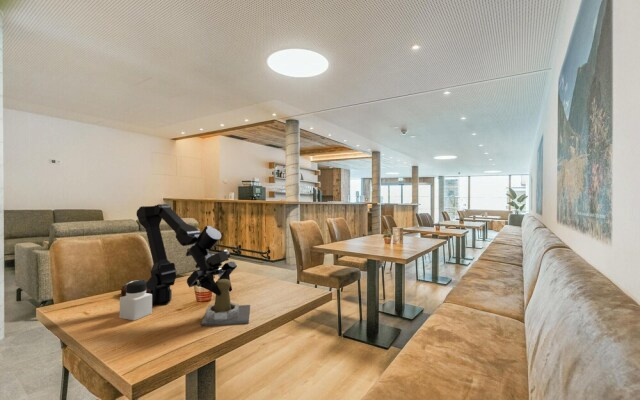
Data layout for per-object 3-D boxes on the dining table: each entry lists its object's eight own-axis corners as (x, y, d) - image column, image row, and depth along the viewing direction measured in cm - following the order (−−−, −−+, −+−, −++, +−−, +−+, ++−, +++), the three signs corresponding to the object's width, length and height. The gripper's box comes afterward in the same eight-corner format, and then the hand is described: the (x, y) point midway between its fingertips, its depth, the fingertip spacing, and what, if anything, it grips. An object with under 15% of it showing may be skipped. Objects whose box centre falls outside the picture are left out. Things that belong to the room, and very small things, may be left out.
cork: (211, 309, 106) (212, 278, 106) (229, 307, 109) (229, 276, 109) (215, 315, 101) (215, 282, 101) (233, 312, 104) (233, 280, 104)
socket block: (201, 326, 97) (201, 315, 97) (208, 309, 112) (208, 300, 112) (248, 323, 100) (248, 312, 100) (250, 307, 115) (250, 298, 115)
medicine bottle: (152, 313, 108) (152, 280, 108) (134, 321, 101) (134, 285, 101) (137, 311, 110) (137, 278, 110) (118, 318, 103) (119, 283, 104)
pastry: (117, 294, 130) (117, 280, 130) (148, 288, 139) (148, 275, 139) (126, 300, 123) (126, 285, 123) (157, 293, 132) (157, 279, 132)
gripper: (193, 246, 98) (218, 285, 93) (233, 240, 115) (256, 272, 110) (176, 268, 102) (199, 306, 97) (217, 258, 118) (239, 291, 113)
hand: (225, 292), depth 104 cm, fingers closed on cork, 5 cm apart
